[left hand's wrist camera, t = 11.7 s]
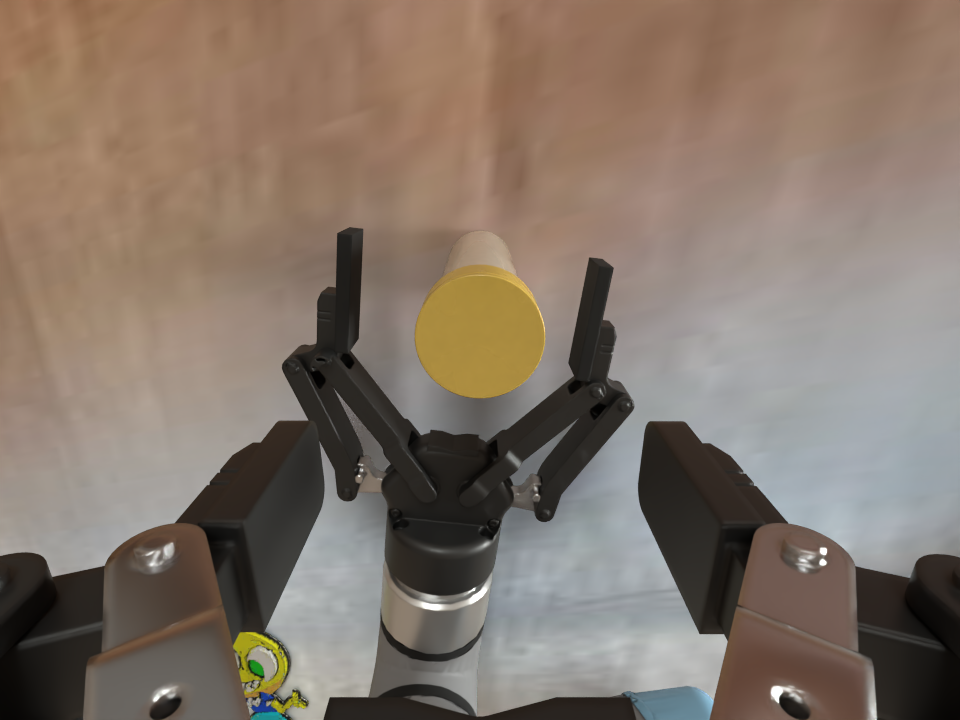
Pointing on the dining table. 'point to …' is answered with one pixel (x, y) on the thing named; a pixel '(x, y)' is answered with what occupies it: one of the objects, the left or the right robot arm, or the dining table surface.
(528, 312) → the lid
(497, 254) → the white bottle
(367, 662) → the dining table surface
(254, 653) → the toy
